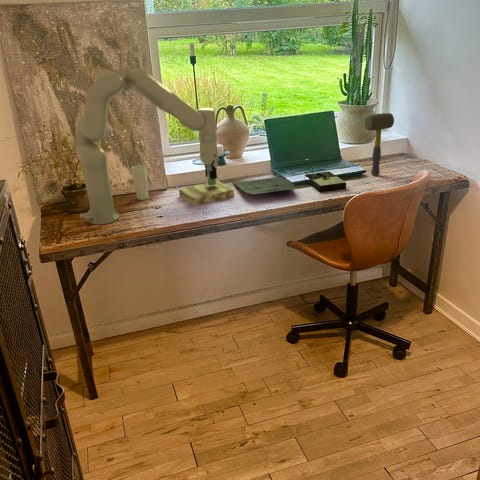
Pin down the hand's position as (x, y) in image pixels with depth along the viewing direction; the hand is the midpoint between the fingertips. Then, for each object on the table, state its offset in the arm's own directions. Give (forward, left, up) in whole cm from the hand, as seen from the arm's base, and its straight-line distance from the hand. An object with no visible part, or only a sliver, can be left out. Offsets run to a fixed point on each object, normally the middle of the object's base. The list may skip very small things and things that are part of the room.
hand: (211, 177), depth 217 cm
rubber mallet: (+78, -24, -9) cm, 82 cm away
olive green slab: (-3, 0, -9) cm, 9 cm away
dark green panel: (+23, -8, -9) cm, 26 cm away
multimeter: (+50, -20, -9) cm, 54 cm away
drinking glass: (-28, +16, -9) cm, 34 cm away
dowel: (0, 0, -3) cm, 3 cm away
